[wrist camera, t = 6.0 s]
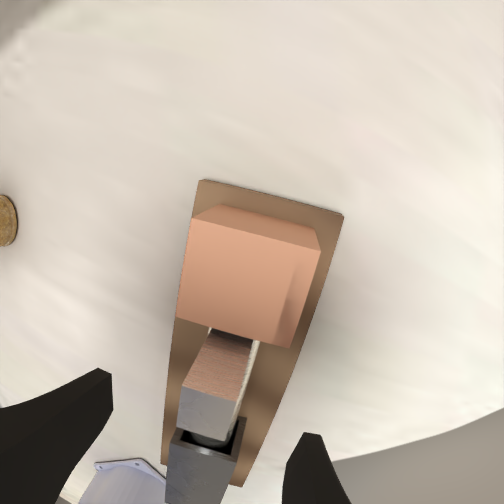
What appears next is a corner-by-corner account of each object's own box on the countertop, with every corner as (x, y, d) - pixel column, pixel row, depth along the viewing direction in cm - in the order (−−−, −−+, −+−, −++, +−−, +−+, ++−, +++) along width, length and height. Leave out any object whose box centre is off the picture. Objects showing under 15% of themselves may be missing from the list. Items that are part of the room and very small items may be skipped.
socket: (291, 303, 18) (289, 348, 13) (204, 279, 18) (175, 316, 14) (314, 228, 17) (320, 251, 12) (219, 203, 17) (191, 217, 12)
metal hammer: (228, 440, 21) (205, 521, 13) (192, 429, 21) (160, 507, 14) (282, 261, 16) (270, 335, 9) (229, 248, 17) (180, 310, 9)
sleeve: (223, 481, 24) (214, 517, 19) (178, 468, 24) (164, 502, 20) (247, 418, 21) (237, 462, 16) (188, 401, 21) (169, 442, 17)
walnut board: (243, 478, 25) (241, 487, 23) (164, 455, 25) (160, 463, 24) (341, 213, 17) (344, 217, 16) (205, 179, 18) (198, 180, 17)
